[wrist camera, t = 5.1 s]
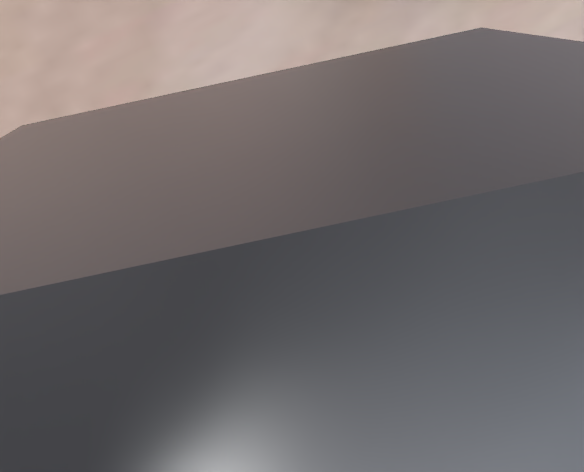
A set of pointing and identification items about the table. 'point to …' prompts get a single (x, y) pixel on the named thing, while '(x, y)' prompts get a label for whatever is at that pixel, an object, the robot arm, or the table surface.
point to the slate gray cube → (305, 270)
